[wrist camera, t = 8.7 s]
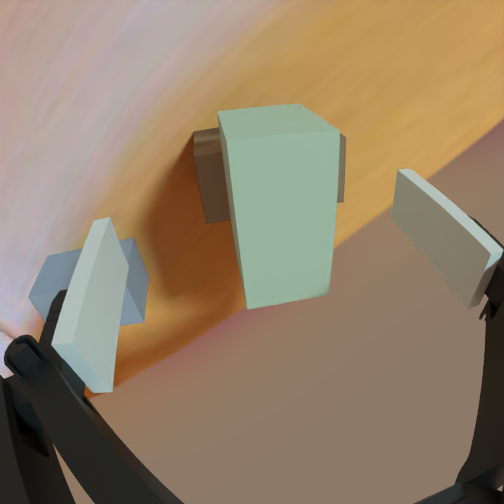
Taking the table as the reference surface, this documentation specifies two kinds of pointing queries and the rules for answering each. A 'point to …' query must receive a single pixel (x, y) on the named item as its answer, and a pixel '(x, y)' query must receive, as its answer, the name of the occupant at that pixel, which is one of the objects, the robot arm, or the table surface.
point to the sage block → (281, 200)
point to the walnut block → (213, 174)
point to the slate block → (61, 271)
